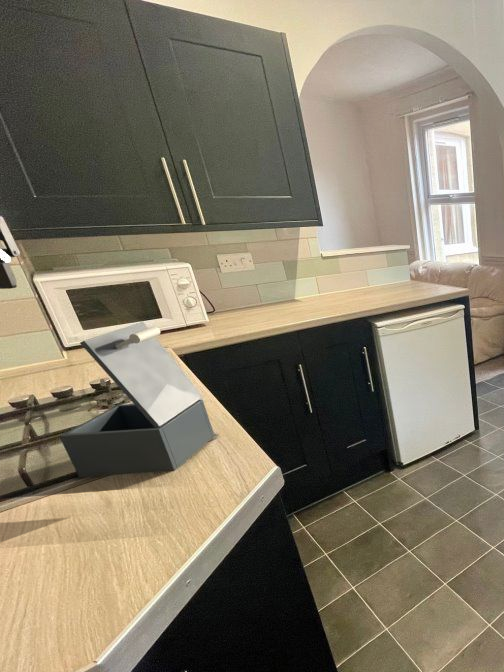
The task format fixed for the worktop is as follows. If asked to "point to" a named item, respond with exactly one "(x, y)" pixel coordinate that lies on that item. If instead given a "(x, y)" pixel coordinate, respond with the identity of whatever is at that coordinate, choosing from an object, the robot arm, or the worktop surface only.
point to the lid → (144, 371)
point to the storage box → (136, 441)
